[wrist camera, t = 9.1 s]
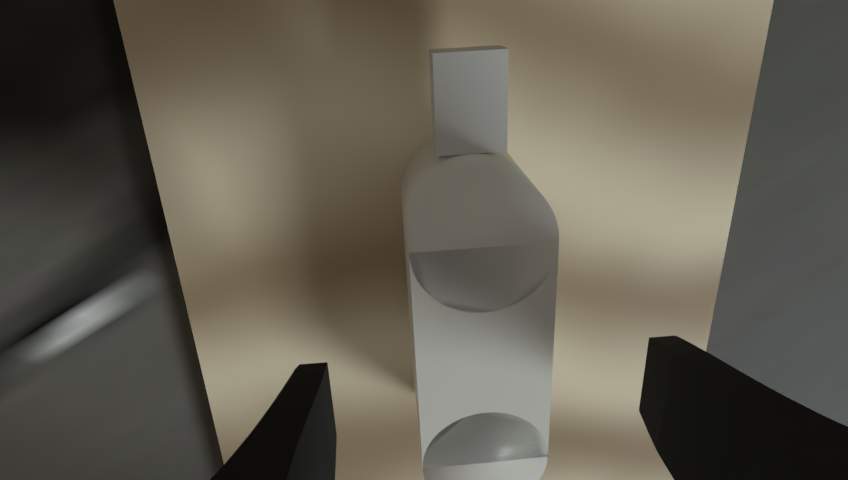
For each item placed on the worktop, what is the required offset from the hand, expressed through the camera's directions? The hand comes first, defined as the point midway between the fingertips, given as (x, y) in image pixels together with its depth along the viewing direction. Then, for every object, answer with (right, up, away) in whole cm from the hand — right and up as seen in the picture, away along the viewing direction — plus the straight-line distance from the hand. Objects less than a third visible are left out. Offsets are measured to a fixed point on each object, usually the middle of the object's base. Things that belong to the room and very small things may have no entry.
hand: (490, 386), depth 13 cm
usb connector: (0, +3, +4) cm, 5 cm away
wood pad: (0, +2, +5) cm, 6 cm away
